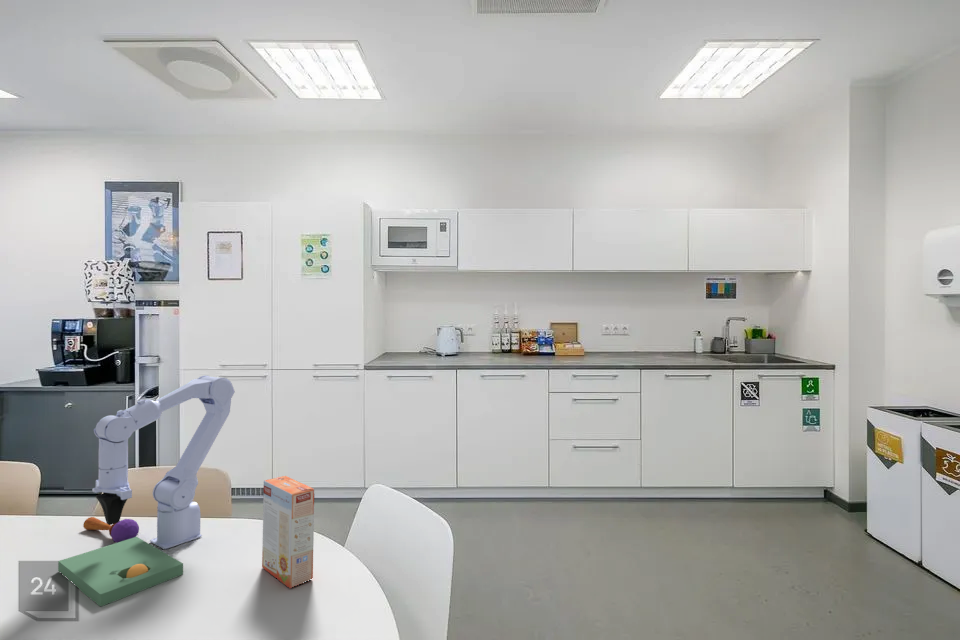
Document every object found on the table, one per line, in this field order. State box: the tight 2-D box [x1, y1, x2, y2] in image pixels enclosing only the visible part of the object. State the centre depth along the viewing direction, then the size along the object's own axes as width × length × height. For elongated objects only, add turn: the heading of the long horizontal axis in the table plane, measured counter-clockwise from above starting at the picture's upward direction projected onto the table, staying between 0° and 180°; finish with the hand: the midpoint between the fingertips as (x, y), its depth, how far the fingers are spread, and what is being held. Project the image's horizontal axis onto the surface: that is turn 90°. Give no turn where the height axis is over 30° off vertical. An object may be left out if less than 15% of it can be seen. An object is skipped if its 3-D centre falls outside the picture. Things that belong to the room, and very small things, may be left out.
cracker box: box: [261, 475, 315, 589], centre depth 117 cm, size 14×6×21 cm, turn 47°
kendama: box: [82, 516, 140, 543], centre depth 135 cm, size 6×6×20 cm
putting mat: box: [57, 536, 184, 607], centre depth 116 cm, size 16×24×2 cm, turn 56°
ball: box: [126, 564, 148, 578], centre depth 112 cm, size 4×4×4 cm
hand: (113, 523), depth 121 cm, fingers closed
